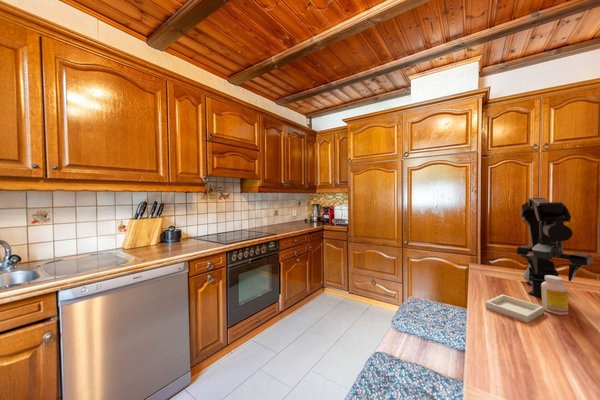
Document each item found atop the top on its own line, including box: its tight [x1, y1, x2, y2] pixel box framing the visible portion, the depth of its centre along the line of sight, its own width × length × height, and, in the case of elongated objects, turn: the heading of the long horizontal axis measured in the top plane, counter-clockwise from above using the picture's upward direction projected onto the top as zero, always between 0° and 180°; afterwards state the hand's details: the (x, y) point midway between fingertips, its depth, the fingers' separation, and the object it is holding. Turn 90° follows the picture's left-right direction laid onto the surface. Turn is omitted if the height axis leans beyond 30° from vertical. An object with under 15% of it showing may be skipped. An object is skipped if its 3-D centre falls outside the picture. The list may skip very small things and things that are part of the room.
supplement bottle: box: [541, 275, 569, 316], centre depth 87 cm, size 7×7×13 cm
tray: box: [485, 294, 545, 324], centre depth 89 cm, size 13×13×2 cm
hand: (551, 277), depth 87 cm, fingers open, 9 cm apart
